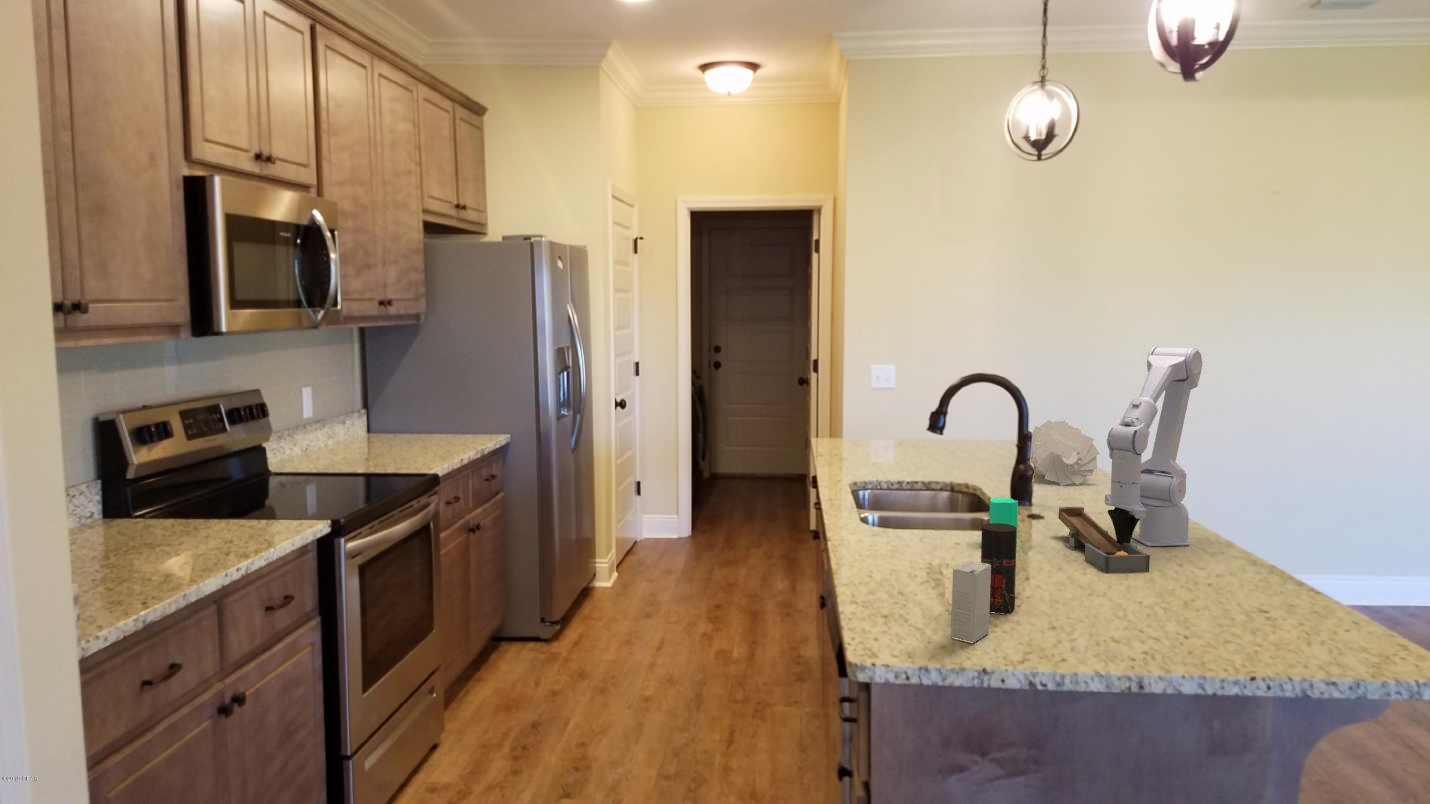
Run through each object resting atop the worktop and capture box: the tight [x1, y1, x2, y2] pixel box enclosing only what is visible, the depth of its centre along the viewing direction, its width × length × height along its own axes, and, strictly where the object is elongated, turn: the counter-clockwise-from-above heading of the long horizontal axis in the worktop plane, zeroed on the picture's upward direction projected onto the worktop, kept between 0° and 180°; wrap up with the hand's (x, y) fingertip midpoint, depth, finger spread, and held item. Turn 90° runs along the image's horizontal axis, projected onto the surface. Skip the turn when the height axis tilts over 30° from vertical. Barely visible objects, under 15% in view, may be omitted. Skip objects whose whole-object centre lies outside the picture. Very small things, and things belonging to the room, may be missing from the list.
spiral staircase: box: [1030, 419, 1101, 487], centre depth 271 cm, size 18×18×25 cm
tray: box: [1084, 543, 1151, 573], centre depth 186 cm, size 9×10×3 cm
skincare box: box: [950, 560, 991, 644], centre depth 148 cm, size 6×4×12 cm
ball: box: [1115, 550, 1128, 555], centre depth 184 cm, size 3×3×3 cm
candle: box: [989, 497, 1019, 548], centre depth 202 cm, size 6×6×12 cm
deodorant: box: [980, 522, 1018, 614], centre depth 161 cm, size 6×6×15 cm
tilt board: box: [1057, 506, 1138, 555], centre depth 199 cm, size 10×20×3 cm, turn 2°
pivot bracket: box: [1064, 529, 1109, 552], centre depth 200 cm, size 9×4×4 cm, turn 92°
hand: (1123, 543), depth 194 cm, fingers closed
